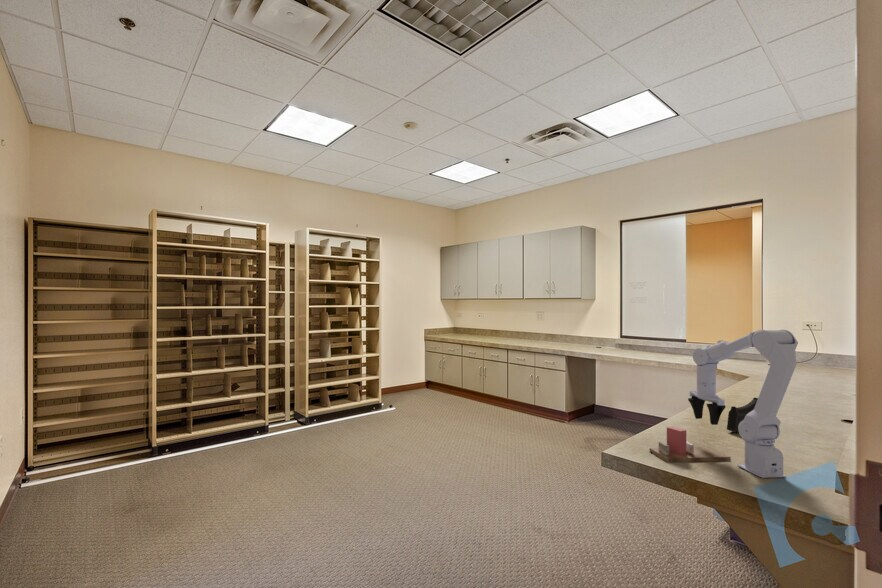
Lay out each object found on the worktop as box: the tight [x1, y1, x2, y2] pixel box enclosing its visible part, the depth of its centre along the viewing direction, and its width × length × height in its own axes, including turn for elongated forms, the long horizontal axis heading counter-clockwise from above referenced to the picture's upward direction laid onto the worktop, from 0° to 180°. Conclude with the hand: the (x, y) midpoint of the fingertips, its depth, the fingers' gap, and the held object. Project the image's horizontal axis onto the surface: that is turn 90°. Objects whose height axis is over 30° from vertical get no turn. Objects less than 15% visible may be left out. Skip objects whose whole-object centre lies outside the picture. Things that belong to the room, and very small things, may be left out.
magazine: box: [726, 397, 758, 433], centre depth 180 cm, size 17×3×30 cm
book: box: [666, 425, 687, 456], centre depth 145 cm, size 5×3×8 cm, turn 26°
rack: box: [649, 441, 732, 463], centre depth 146 cm, size 22×10×4 cm, turn 95°
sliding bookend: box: [686, 440, 695, 454], centre depth 146 cm, size 1×4×3 cm, turn 6°
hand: (706, 421), depth 152 cm, fingers open, 7 cm apart
